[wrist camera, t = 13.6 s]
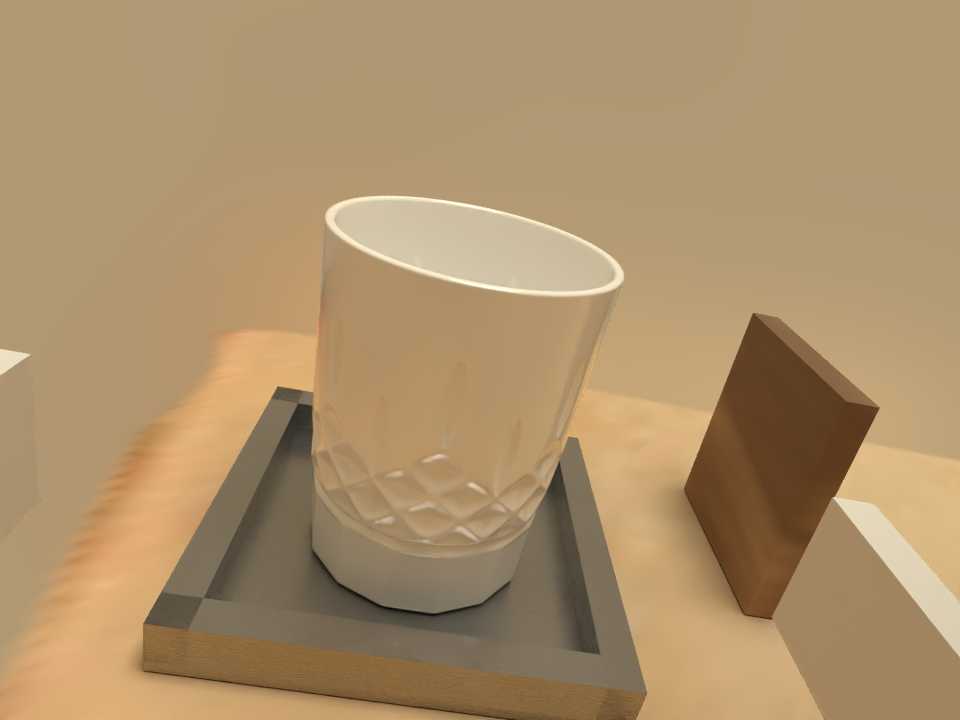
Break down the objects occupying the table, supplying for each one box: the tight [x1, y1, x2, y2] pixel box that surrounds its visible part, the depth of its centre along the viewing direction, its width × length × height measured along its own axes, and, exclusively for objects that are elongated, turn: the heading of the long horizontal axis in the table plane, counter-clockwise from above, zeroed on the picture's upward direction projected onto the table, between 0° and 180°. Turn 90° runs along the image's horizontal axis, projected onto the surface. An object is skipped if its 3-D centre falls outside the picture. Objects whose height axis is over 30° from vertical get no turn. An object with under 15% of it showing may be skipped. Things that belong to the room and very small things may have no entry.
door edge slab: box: [684, 313, 879, 618], centre depth 24 cm, size 1×7×8 cm, turn 0°
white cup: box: [311, 196, 624, 613], centre depth 20 cm, size 8×8×10 cm
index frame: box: [143, 387, 647, 720], centre depth 22 cm, size 12×12×2 cm
